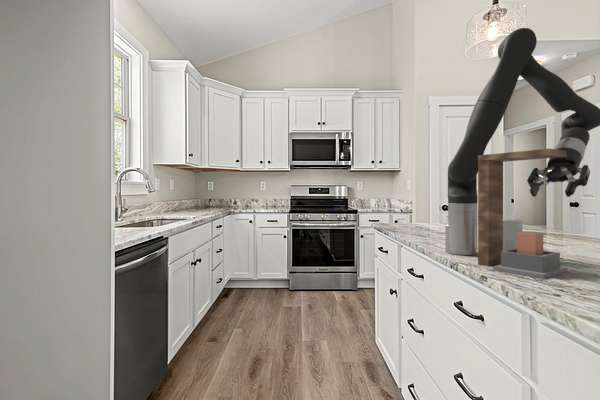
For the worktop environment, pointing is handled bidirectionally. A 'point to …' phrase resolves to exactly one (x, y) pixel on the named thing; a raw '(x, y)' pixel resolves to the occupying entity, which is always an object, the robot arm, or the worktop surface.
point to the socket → (530, 264)
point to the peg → (530, 243)
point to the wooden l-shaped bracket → (497, 199)
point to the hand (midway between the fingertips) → (549, 194)
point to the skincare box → (511, 233)
